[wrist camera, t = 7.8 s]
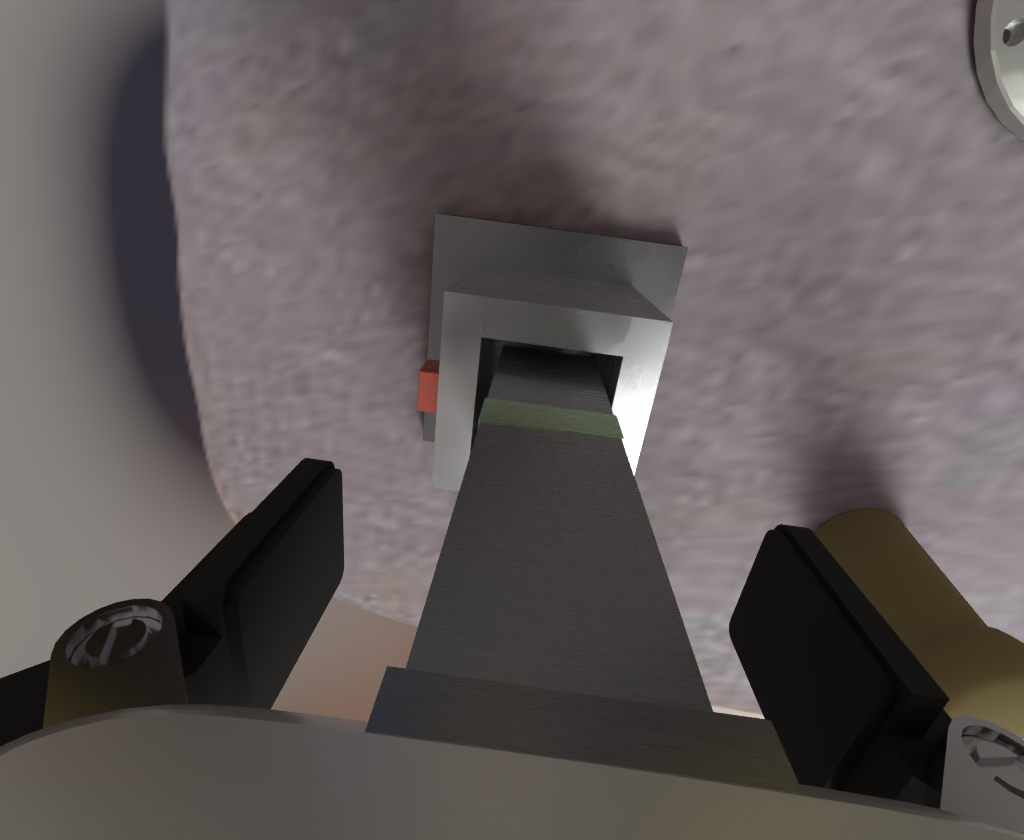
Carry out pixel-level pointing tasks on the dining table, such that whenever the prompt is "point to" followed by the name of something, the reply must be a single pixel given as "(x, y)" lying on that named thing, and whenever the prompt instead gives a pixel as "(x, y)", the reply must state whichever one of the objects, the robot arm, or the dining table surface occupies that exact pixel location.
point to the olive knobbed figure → (931, 617)
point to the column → (563, 602)
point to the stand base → (540, 321)
